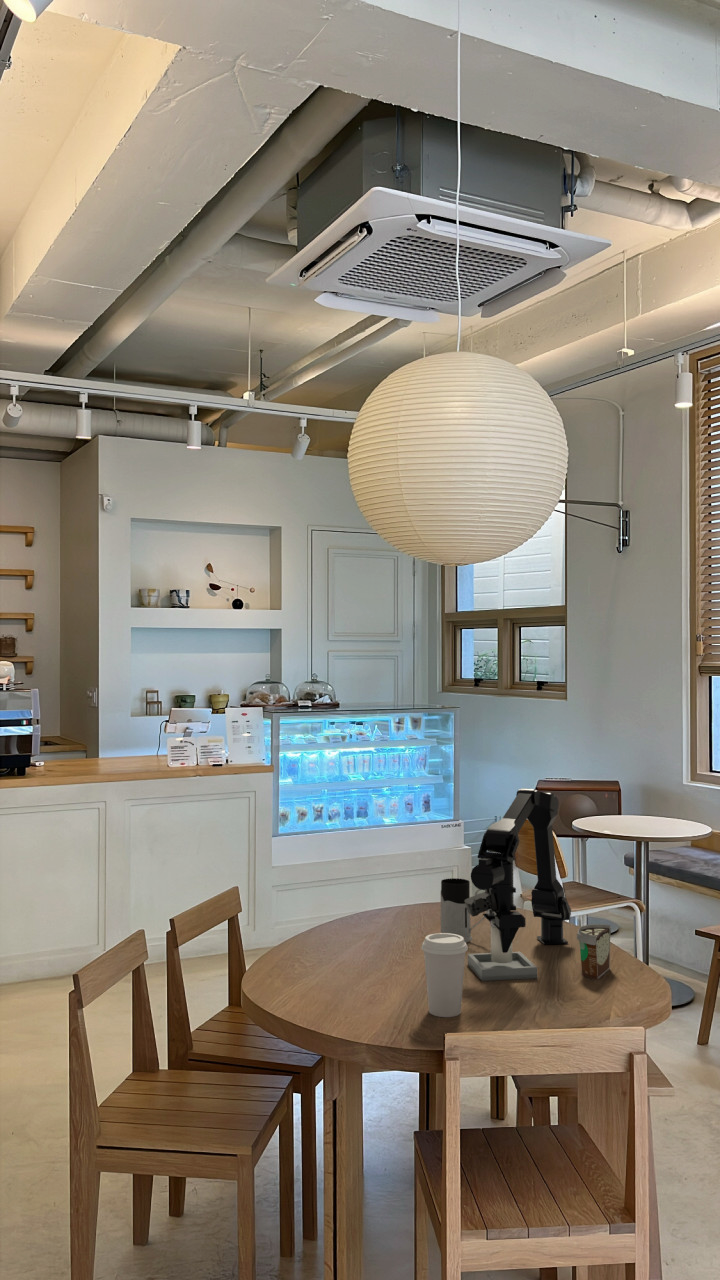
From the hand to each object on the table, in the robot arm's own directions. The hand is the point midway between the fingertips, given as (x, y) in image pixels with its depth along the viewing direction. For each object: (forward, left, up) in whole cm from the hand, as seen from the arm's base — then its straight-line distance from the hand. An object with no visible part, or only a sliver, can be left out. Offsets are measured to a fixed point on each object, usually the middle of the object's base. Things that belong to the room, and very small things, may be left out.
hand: (501, 949), depth 227 cm
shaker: (0, 0, -2) cm, 2 cm away
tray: (0, 0, -5) cm, 5 cm away
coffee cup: (+26, -20, -5) cm, 33 cm away
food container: (+3, +20, -5) cm, 21 cm away
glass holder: (-28, -2, -5) cm, 29 cm away
